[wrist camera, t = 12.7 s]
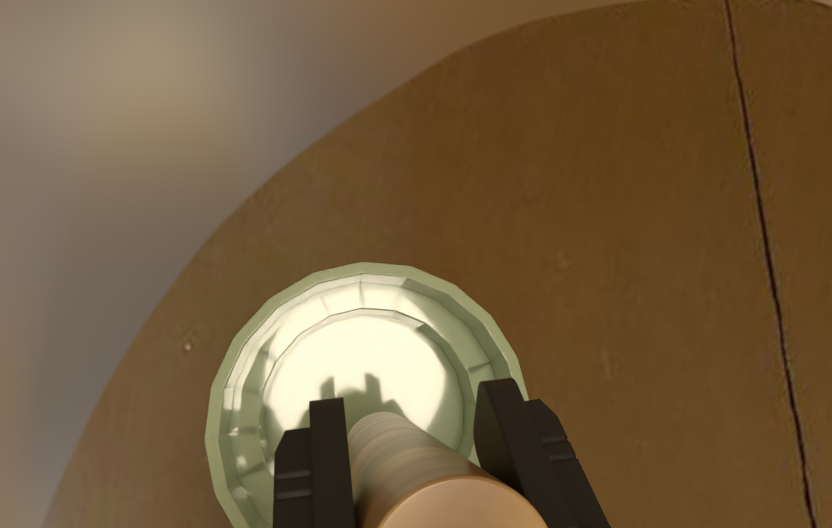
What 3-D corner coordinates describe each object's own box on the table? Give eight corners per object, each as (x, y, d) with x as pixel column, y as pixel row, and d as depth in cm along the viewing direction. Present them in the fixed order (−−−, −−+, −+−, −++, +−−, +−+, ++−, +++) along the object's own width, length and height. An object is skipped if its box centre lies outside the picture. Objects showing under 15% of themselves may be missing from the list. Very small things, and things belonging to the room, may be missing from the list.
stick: (339, 492, 22) (351, 700, 8) (346, 409, 22) (368, 470, 8) (419, 495, 22) (561, 700, 8) (424, 413, 22) (565, 479, 9)
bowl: (213, 549, 31) (184, 595, 25) (247, 272, 34) (228, 249, 28) (488, 556, 33) (525, 600, 27) (498, 293, 36) (534, 276, 30)
